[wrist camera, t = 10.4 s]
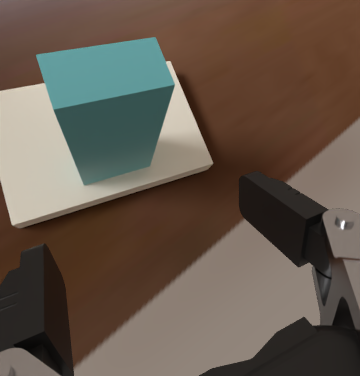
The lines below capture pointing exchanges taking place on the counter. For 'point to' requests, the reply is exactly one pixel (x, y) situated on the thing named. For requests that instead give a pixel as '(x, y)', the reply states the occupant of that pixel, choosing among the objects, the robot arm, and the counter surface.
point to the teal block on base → (95, 131)
